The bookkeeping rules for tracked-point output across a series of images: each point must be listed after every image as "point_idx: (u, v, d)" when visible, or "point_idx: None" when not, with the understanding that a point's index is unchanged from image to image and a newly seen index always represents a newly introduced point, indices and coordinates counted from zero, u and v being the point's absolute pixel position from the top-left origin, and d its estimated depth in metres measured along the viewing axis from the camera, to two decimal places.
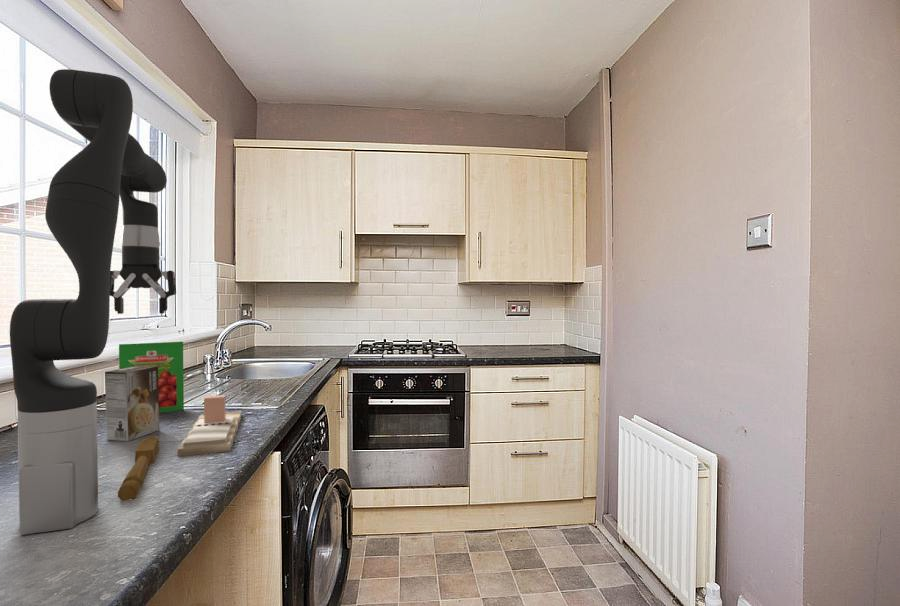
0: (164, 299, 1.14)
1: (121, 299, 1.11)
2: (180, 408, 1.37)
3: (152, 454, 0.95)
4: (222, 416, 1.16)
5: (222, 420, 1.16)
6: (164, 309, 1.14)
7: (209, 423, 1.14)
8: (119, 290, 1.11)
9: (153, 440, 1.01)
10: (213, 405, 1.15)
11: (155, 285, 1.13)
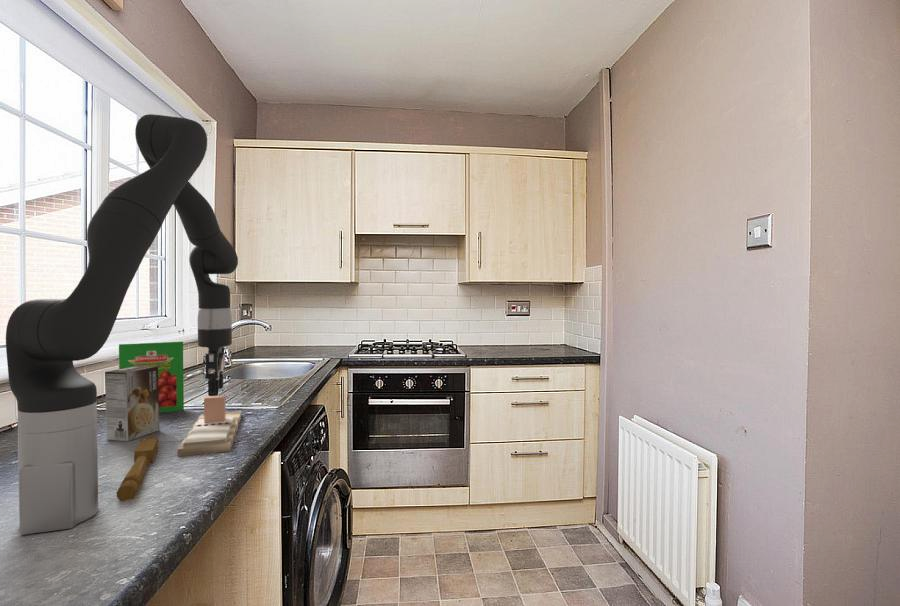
0: None
1: None
2: (180, 408, 1.37)
3: (151, 454, 0.95)
4: (222, 416, 1.16)
5: (222, 420, 1.16)
6: None
7: (209, 423, 1.14)
8: (218, 372, 1.13)
9: (152, 440, 1.00)
10: (213, 405, 1.15)
11: (224, 362, 1.20)
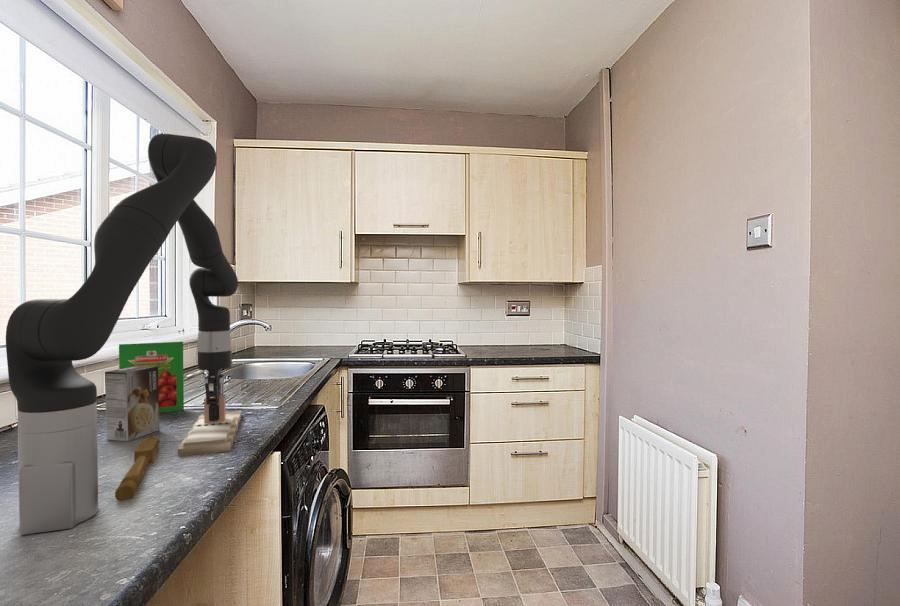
0: None
1: None
2: (180, 408, 1.37)
3: (151, 454, 0.95)
4: (222, 416, 1.16)
5: (222, 420, 1.16)
6: None
7: (209, 423, 1.14)
8: (219, 397, 1.15)
9: (153, 440, 1.00)
10: None
11: (223, 387, 1.19)
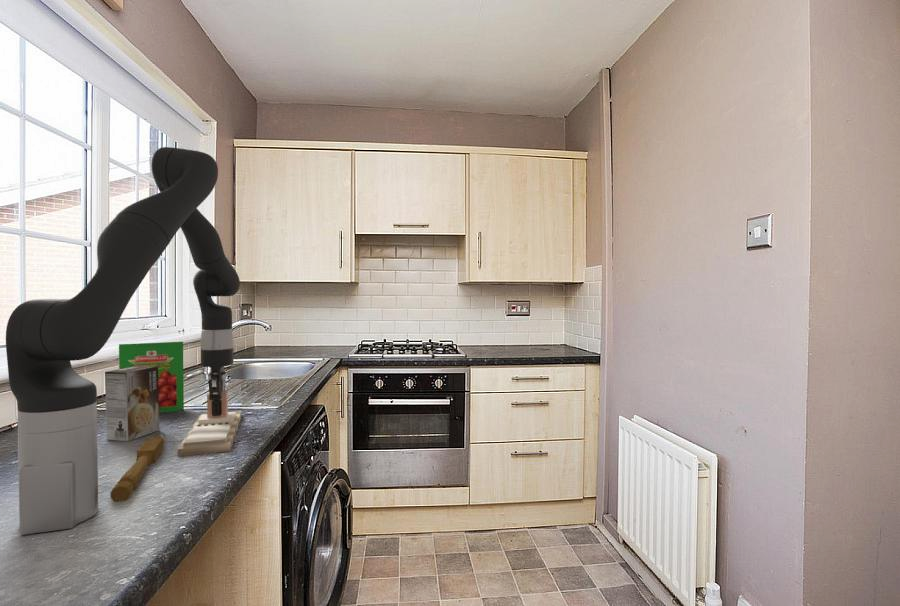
0: None
1: None
2: (180, 408, 1.37)
3: (153, 454, 0.95)
4: (224, 411, 1.20)
5: (224, 415, 1.20)
6: None
7: (212, 418, 1.19)
8: (221, 393, 1.19)
9: (157, 440, 1.01)
10: None
11: (225, 384, 1.24)
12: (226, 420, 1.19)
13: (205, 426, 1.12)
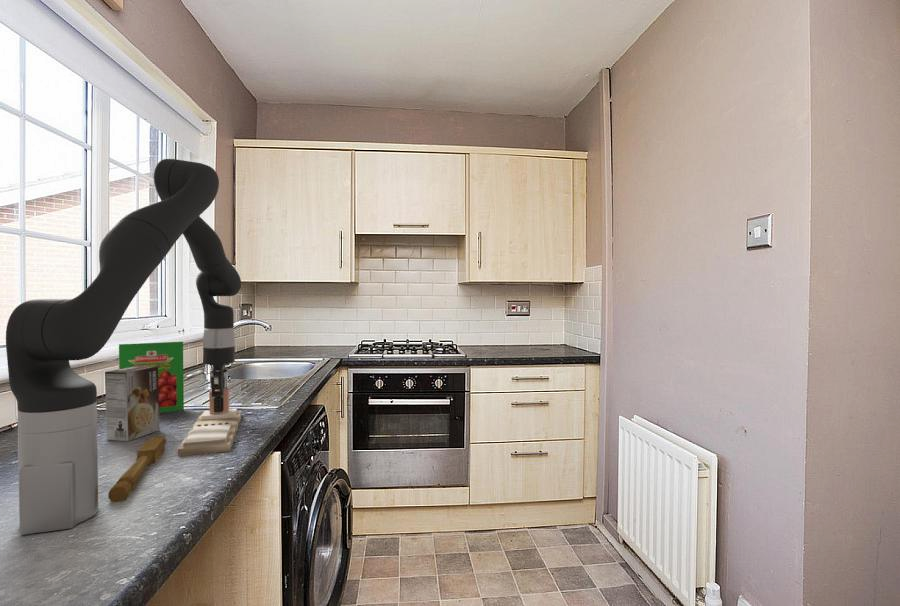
0: None
1: None
2: (180, 408, 1.37)
3: (154, 454, 0.95)
4: (226, 408, 1.24)
5: (226, 411, 1.24)
6: None
7: (214, 414, 1.23)
8: (223, 390, 1.23)
9: (158, 440, 1.01)
10: None
11: (227, 381, 1.27)
12: (228, 416, 1.23)
13: (205, 426, 1.12)
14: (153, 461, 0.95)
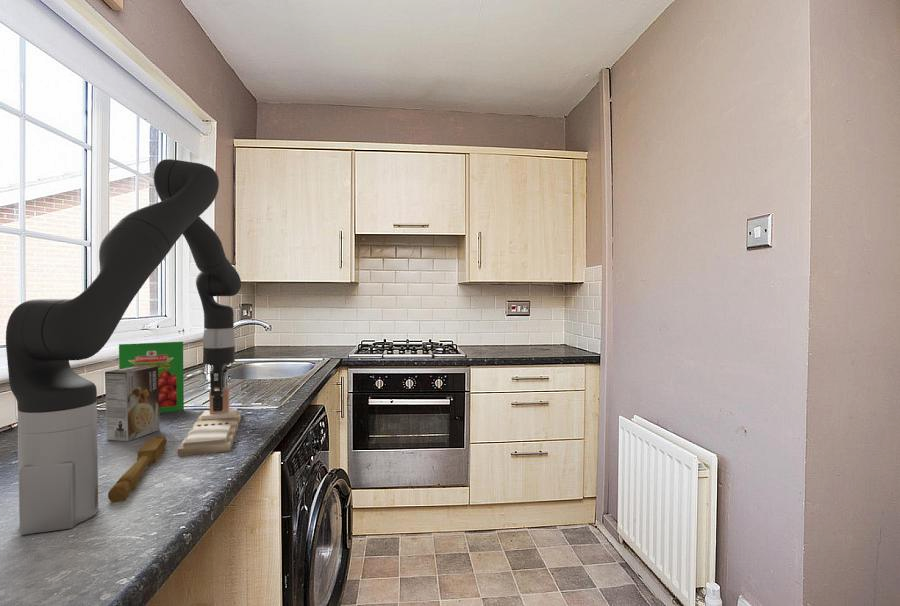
0: None
1: None
2: (180, 408, 1.37)
3: (154, 454, 0.95)
4: (226, 408, 1.24)
5: (226, 411, 1.24)
6: None
7: (214, 414, 1.23)
8: (222, 389, 1.22)
9: (159, 440, 1.01)
10: None
11: (227, 379, 1.28)
12: (228, 416, 1.23)
13: (205, 426, 1.12)
14: (153, 461, 0.95)
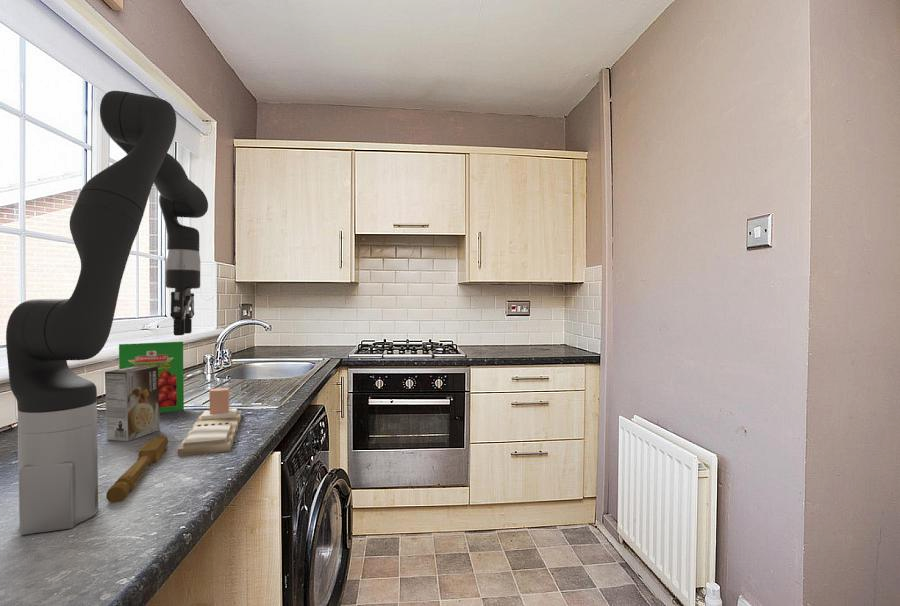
0: None
1: None
2: (180, 408, 1.37)
3: (155, 454, 0.95)
4: (226, 408, 1.24)
5: (226, 411, 1.24)
6: None
7: (214, 414, 1.23)
8: (185, 312, 1.14)
9: (160, 440, 1.01)
10: (218, 397, 1.24)
11: (193, 307, 1.21)
12: (228, 416, 1.23)
13: (205, 426, 1.12)
14: (154, 461, 0.95)
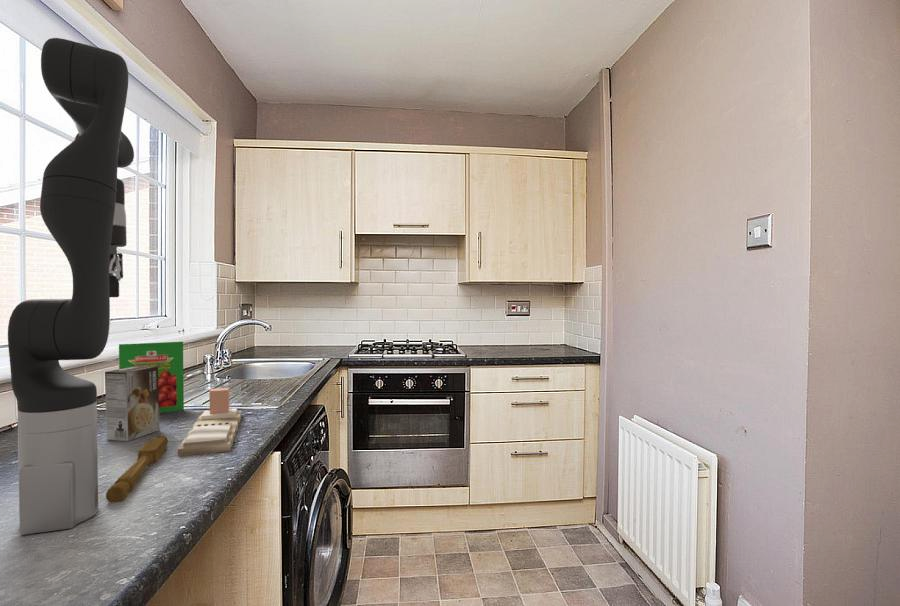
0: None
1: None
2: (180, 408, 1.37)
3: (154, 454, 0.95)
4: (226, 408, 1.24)
5: (226, 411, 1.24)
6: None
7: (214, 414, 1.23)
8: None
9: (160, 440, 1.01)
10: (218, 397, 1.24)
11: (120, 268, 1.08)
12: (228, 416, 1.23)
13: (205, 426, 1.12)
14: (154, 461, 0.95)
